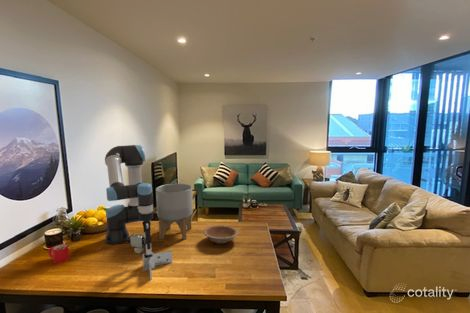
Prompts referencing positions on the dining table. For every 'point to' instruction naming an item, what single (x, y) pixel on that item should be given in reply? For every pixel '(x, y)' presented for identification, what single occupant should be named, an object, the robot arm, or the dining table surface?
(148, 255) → the pin
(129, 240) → the pneumatic valve
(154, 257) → the hinge leaves
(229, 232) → the bowl
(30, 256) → the dining table surface
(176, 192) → the planter
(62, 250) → the mug
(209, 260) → the dining table surface
